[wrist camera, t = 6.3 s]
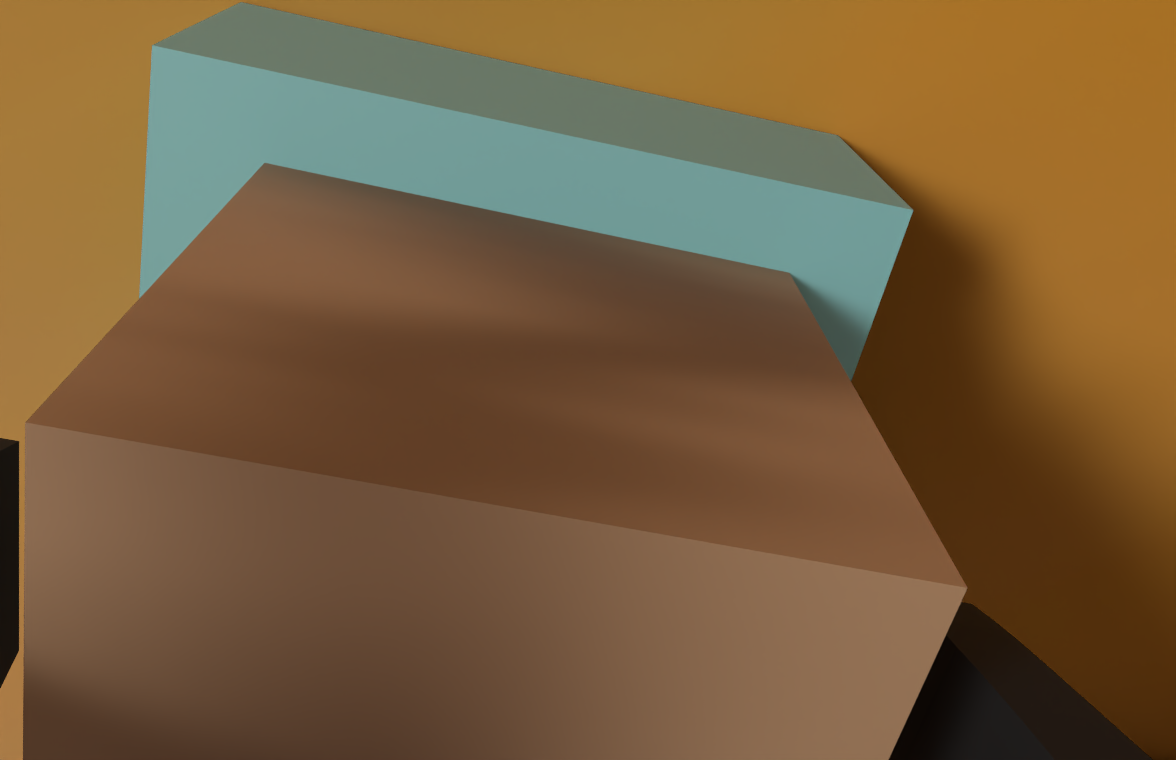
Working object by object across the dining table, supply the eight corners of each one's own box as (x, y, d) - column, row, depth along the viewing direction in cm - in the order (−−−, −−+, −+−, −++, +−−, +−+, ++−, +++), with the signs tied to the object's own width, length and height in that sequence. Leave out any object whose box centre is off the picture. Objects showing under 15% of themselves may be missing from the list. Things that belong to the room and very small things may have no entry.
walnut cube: (789, 271, 10) (967, 588, 6) (658, 671, 13) (719, 1126, 8) (263, 162, 10) (25, 422, 5) (220, 601, 12) (19, 1052, 7)
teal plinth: (838, 136, 13) (912, 210, 10) (686, 603, 16) (714, 757, 13) (241, 2, 12) (152, 45, 9) (197, 522, 15) (120, 668, 12)
